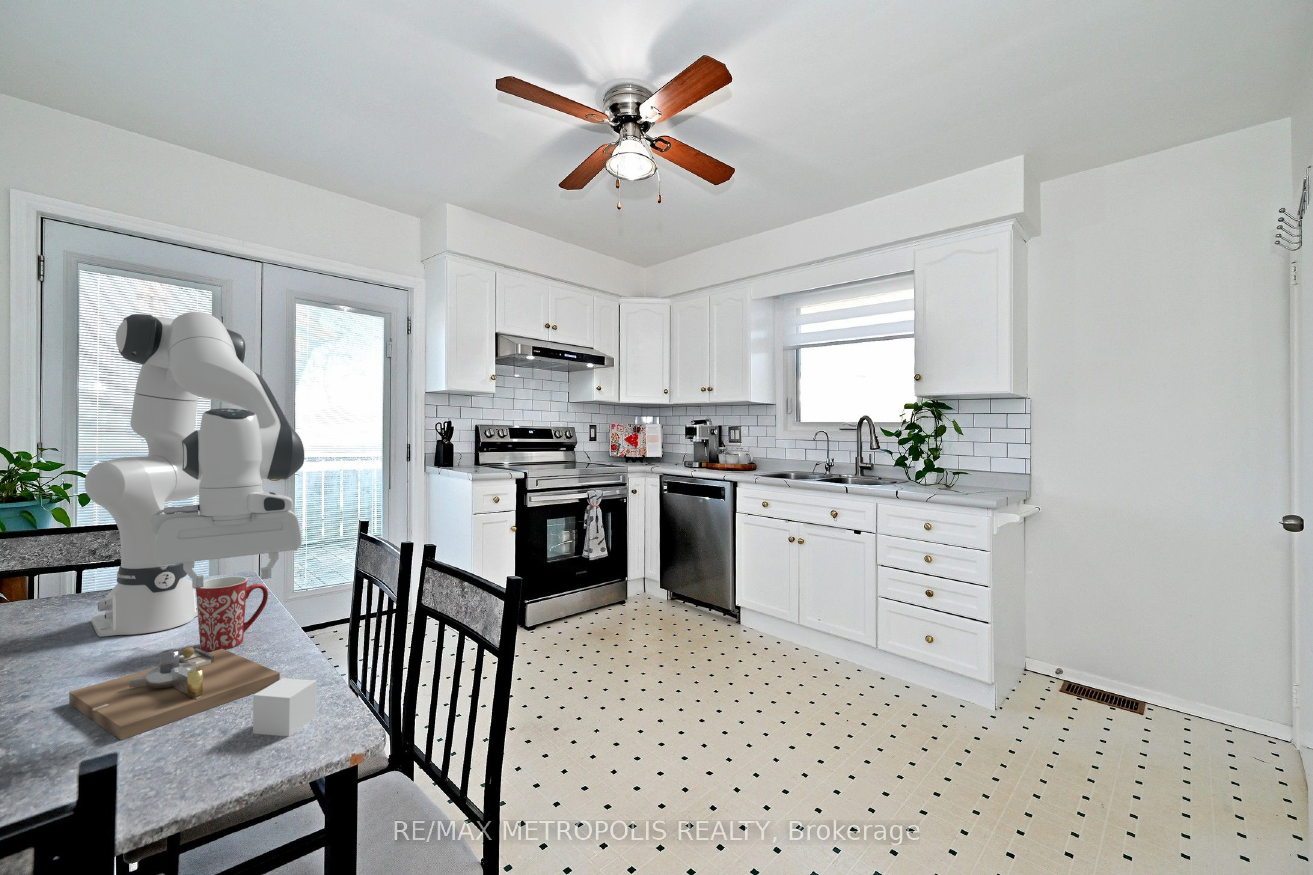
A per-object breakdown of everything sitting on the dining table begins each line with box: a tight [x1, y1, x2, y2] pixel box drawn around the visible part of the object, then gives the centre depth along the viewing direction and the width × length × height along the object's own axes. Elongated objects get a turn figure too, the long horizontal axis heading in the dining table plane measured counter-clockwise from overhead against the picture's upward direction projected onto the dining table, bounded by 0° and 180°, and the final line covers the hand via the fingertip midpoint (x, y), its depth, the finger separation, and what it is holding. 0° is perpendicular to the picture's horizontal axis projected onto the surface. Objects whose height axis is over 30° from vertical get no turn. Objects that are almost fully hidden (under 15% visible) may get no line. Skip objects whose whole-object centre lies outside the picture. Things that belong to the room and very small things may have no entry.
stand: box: [68, 646, 281, 741], centre depth 99 cm, size 22×22×4 cm
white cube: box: [252, 677, 318, 737], centre depth 90 cm, size 6×6×6 cm
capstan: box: [129, 648, 203, 697], centre depth 97 cm, size 13×9×5 cm
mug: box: [194, 575, 269, 652], centre depth 122 cm, size 13×9×14 cm
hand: (233, 582), depth 98 cm, fingers open, 8 cm apart
